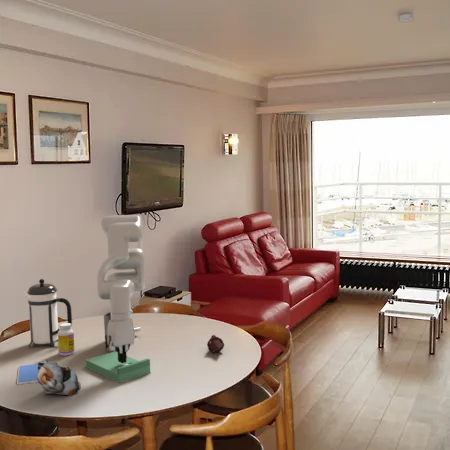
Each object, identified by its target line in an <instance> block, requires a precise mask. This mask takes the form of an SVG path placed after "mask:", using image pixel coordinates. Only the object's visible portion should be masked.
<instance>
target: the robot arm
mask: <svg viewBox="0 0 450 450" xmlns="http://www.w3.org/2000/svg"><path fill="white" fill-rule="evenodd" d="M100 225H101V227H102V231H103V233H104V234H105V236H106V238H107V258H106V259H105V260H104V261H103V262H102V263H101V265H100V266H99V269H98V270H97V271H98V272H97V277H96V280H97V284H96V285H97V286H96V287H97V295H98V297H99V298H100V299H101V300H108V301H109V312H111V320H109V323H108V331H107V343H108V345H110V346H109V349H110V350H115V351H116V352H118V361H119V362H121V363H124V362H126V359H127V356H128V355H127V352H128V350H129V349H128V348H129V347H130V348H131V346H133V345H134V344H135V339H136V334H135V333H138V332H140V331H141V327H140V326H139V327H138V326H137V327H134V321H133V317H132V314H133V313H134V311H133V310H132V309H131V303H132V302H131V297H132V296H133V295H134V293H135V292H141V291H144V289H145V288H146V262H145V261H146V259H145V253H144V251H143V250H142V249H141V248H137V247H135V248H133V247H132V248H129V245H130V244H129V243H138V242H141V241H142V239H143V235H144V234H143V233H144V228H143V222H142V218H141V216H140V215H137V214H122V215H121V214H119V215H118V214H117V215H107V216H106V215H105V216H103V217H102V218H101V220H100ZM111 269H112V270H115V271H113V272H111V273H109V274H108V276H107V278H106V280H105V276H106V274H107V273H108V272H109V271H110V270H111ZM116 270H118V271H116ZM119 270H120V271H119ZM125 270H126V271H125Z"/></svg>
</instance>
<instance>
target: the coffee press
mask: <svg viewBox="0 0 450 450" xmlns="http://www.w3.org/2000/svg"><path fill="white" fill-rule="evenodd" d="M57 292H58V289H57V287H56V286H55V285H54V284H53V283H46V282H45V280H44V278H40V279H39V281H38V283H36V284H33V285H31V286H29V287H28V290H27V292H26V294H25V298H28V299H27V302H28V303H27V304H28V312H29V314H28V315H29V329H30V330H29V332H30V342H29V344H28V347H29V348H31V349H32V348H34V346H35V345H46V344H48V345H49V346H50V348H53V347H55V342H56V341H58V331H59V330H60V327H59V322H58V321H59V319H58V303H63V304H65V307H66V315H67V323H71V327H72V326H73V318H72V317H73V315H72V305H71V302H70V301H69V300H68V299H66V298H62V297H59V298H58V297H57Z"/></svg>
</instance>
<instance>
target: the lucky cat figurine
mask: <svg viewBox="0 0 450 450" xmlns="http://www.w3.org/2000/svg"><path fill="white" fill-rule="evenodd" d="M37 364H38V375H37V377H38V385H39V386H40V387H41V388H43V390H44V393H45V395H50V394H56V395H62V396H63V395H65V396H73V395H75V394H77V393H78V392H79V391H80V390H81V389H82V385H81V383H80V382H79V381H78V380H79V379H78V376H77V373H76V372H75V371H74V370H73V369H71V368H70V367H69V366H68V365H66V366H64V365H59V364H58V362H55V361H49V360H48V359H44V360H42V362H37Z"/></svg>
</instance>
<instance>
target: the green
mask: <svg viewBox="0 0 450 450" xmlns="http://www.w3.org/2000/svg"><path fill="white" fill-rule="evenodd" d="M150 360H151V359H149V358H144V359H141V360H137V359H136V358H133V357H130V356H128V355H127V359H126V362H124V363H121V362H119V361H118V352H116V351H115V352H112V351H111V352H108V353H104V354H101V355H98V356H95V357H94V356H93V357H91V358H87V359H85V368H87V369H88V370H91V371H93V372H95V373H97V374H99V375H102V376H103V377H106V378H108V379H110V380H113V381H115V382H117V383H119V384H121V383H124V382H126V381H130V380H133V379H135V378H136V379H137V378H140V377H142V376H145V375H148V374H151V361H150ZM125 364H128V365H125ZM123 365H125V366H123Z"/></svg>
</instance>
